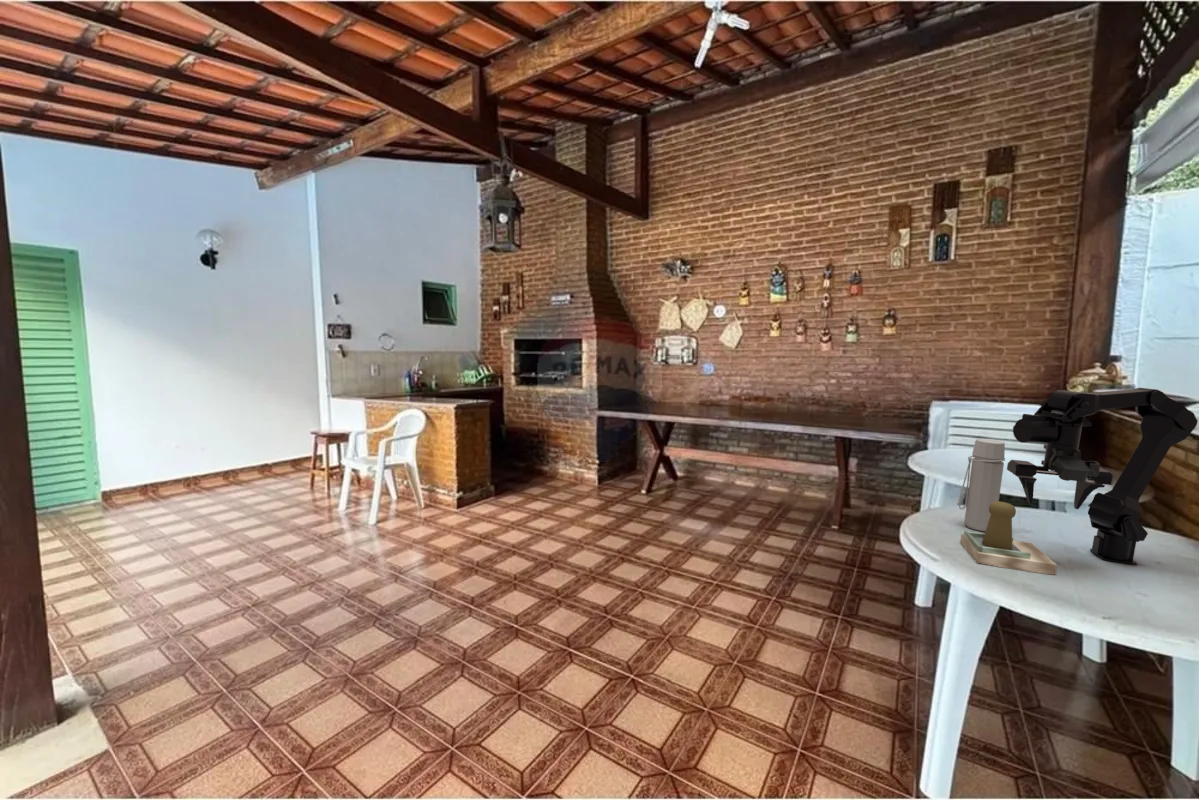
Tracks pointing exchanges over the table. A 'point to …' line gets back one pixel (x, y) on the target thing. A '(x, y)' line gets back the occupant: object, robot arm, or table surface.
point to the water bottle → (983, 482)
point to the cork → (999, 526)
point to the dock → (1008, 555)
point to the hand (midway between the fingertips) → (1052, 506)
